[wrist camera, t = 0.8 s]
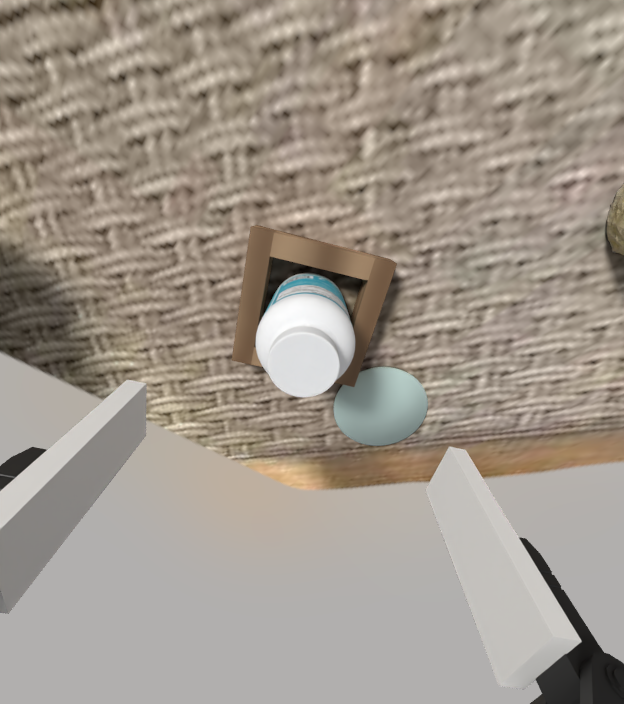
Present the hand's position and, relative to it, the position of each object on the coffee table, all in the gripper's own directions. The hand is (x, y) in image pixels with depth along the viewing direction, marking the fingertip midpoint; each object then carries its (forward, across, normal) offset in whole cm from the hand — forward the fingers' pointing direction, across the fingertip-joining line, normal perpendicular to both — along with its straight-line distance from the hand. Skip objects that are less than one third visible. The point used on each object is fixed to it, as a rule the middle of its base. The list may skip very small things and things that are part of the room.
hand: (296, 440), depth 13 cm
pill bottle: (+20, 0, 0) cm, 21 cm away
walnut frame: (+20, 0, 0) cm, 20 cm away
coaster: (+20, +11, -10) cm, 25 cm away
